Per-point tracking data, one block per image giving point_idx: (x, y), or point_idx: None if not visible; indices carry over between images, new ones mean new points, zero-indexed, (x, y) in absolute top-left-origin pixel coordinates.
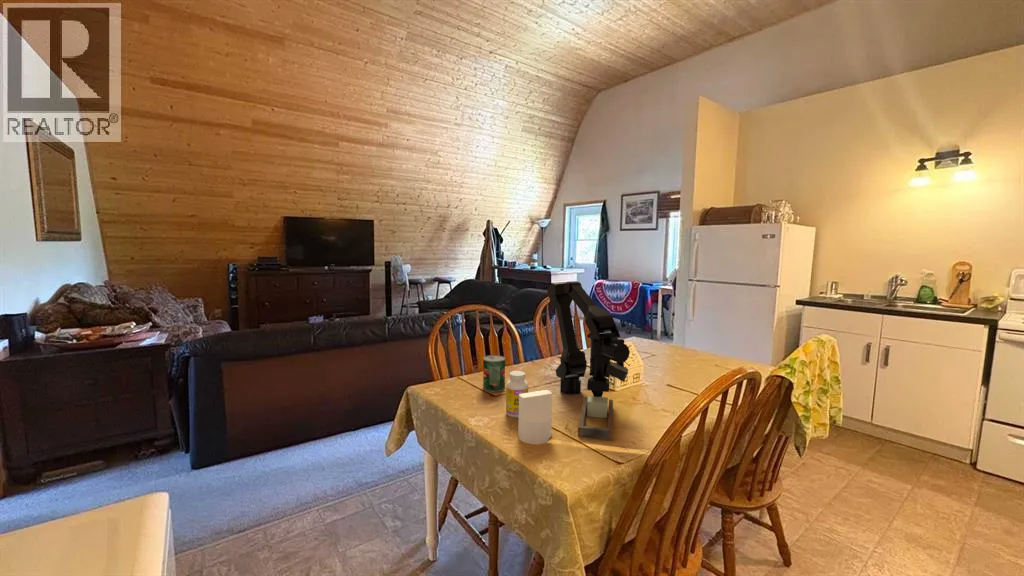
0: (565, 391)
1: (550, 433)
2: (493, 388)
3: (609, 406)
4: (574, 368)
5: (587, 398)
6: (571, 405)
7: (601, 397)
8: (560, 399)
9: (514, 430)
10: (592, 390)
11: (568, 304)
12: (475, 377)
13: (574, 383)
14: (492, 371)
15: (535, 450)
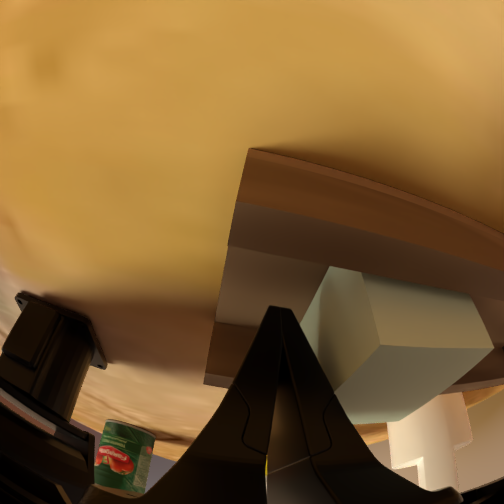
0: (88, 367)
1: (460, 403)
2: (152, 442)
3: (433, 281)
4: (65, 490)
5: (230, 377)
6: (196, 355)
7: (357, 382)
8: (139, 368)
9: (381, 428)
10: (474, 488)
11: None
12: (94, 427)
13: (55, 384)
14: (145, 478)
15: (473, 396)
